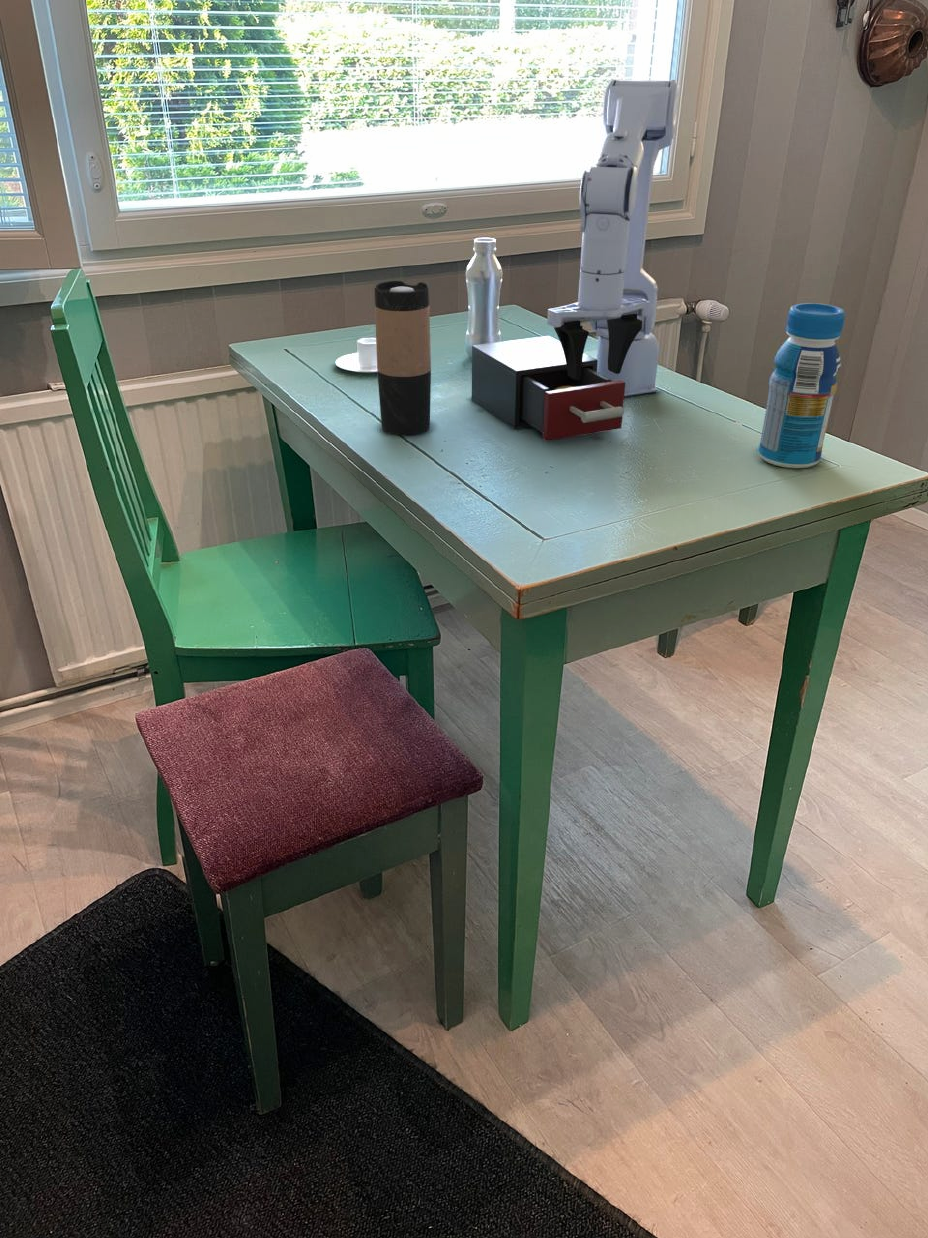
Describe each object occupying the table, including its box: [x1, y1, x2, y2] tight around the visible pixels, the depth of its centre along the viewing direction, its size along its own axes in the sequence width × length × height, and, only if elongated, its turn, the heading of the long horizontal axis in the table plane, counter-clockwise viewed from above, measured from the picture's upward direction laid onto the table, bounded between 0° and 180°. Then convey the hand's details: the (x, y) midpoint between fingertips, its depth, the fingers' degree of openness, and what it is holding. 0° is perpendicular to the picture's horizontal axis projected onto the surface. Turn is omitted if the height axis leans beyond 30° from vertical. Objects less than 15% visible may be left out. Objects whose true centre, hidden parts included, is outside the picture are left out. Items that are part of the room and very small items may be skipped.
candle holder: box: [335, 337, 378, 374], centre depth 163 cm, size 12×12×4 cm
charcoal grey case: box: [471, 335, 598, 430], centre depth 143 cm, size 15×14×9 cm
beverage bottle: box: [758, 302, 846, 469], centre depth 123 cm, size 8×8×20 cm
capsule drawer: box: [519, 367, 625, 442], centre depth 135 cm, size 18×12×7 cm
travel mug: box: [373, 280, 432, 437], centre depth 133 cm, size 8×8×20 cm
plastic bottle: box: [464, 237, 504, 359], centre depth 163 cm, size 6×7×20 cm
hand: (594, 374), depth 127 cm, fingers open, 6 cm apart
